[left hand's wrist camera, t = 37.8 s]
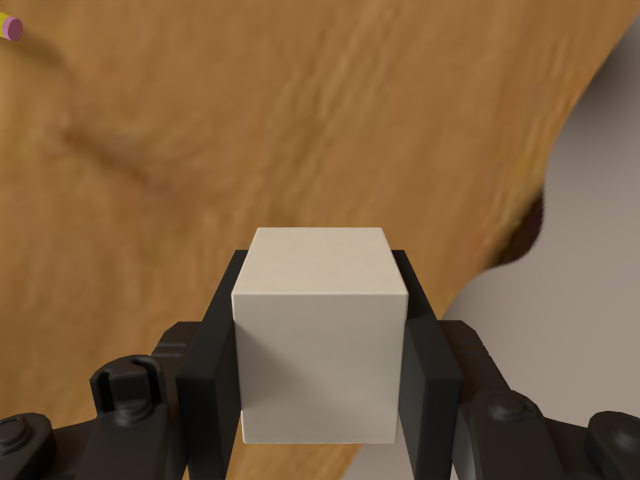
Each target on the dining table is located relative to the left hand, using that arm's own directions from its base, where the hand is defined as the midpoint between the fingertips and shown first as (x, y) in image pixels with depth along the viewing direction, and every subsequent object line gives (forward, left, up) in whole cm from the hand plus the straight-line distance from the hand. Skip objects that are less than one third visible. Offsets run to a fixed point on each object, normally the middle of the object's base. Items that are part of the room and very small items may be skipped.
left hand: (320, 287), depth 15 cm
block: (0, 0, 0) cm, 0 cm away
